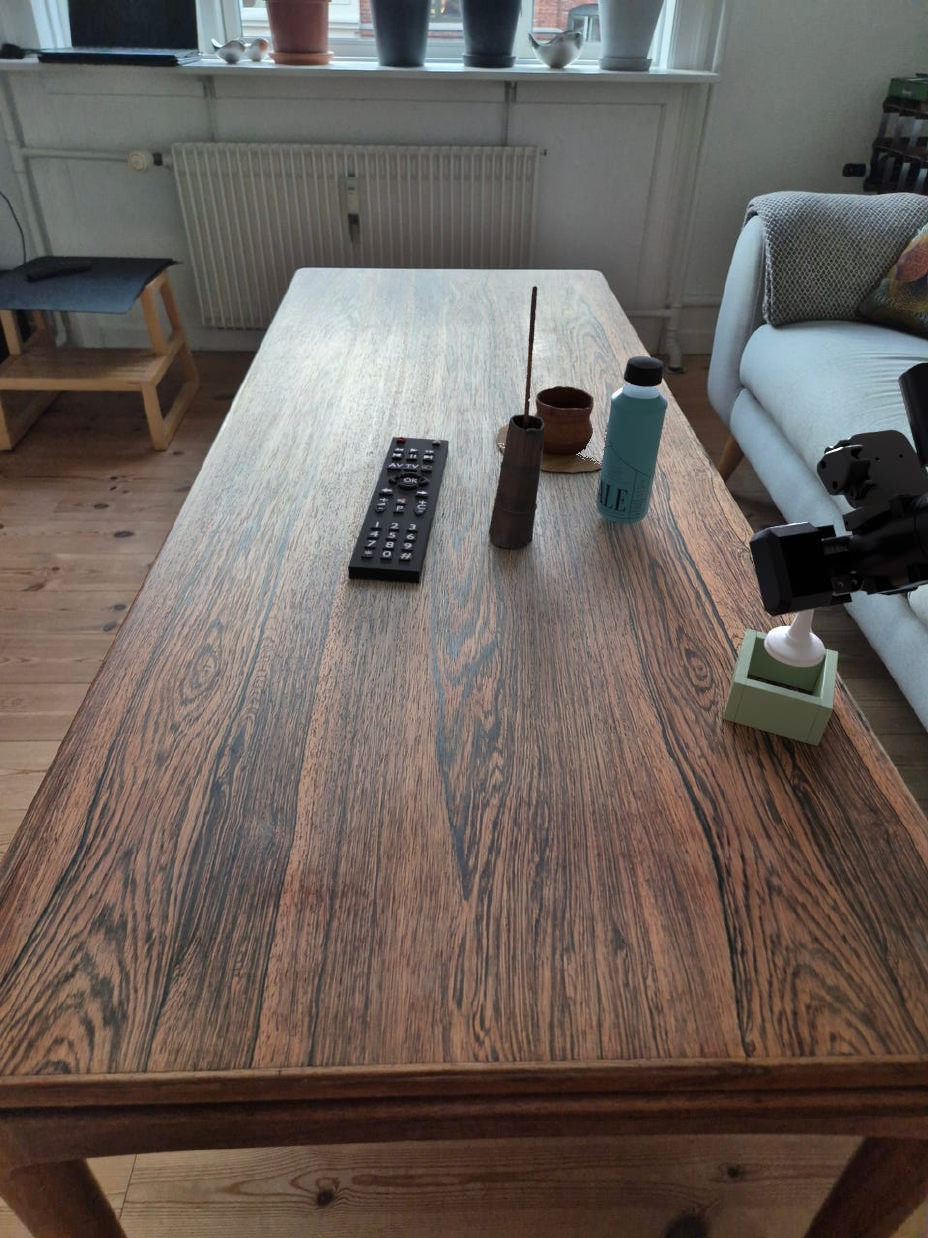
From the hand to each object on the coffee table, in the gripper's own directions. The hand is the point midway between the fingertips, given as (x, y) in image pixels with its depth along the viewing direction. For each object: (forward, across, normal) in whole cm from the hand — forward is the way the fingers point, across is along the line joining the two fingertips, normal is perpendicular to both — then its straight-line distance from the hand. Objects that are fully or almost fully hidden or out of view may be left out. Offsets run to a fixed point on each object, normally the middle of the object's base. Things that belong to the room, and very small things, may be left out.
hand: (805, 578), depth 70 cm
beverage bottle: (+32, 0, -13) cm, 35 cm away
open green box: (+9, 0, +10) cm, 13 cm away
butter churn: (+31, +14, -12) cm, 36 cm away
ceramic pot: (+47, -1, -29) cm, 55 cm away
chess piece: (+4, 0, +6) cm, 7 cm away
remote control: (+38, +24, -20) cm, 50 cm away
